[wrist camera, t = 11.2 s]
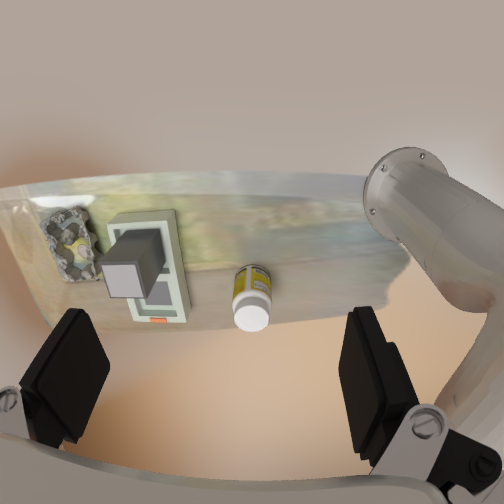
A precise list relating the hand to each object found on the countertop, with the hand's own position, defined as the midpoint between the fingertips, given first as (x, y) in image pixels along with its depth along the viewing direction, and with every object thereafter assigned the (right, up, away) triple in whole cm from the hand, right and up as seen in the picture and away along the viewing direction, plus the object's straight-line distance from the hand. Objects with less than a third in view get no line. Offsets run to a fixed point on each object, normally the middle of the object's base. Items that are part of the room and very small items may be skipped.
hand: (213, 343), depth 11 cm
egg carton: (-24, +5, +31) cm, 39 cm away
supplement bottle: (+1, 0, +32) cm, 32 cm away
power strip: (-12, +2, +31) cm, 34 cm away
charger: (-12, +4, +28) cm, 31 cm away
